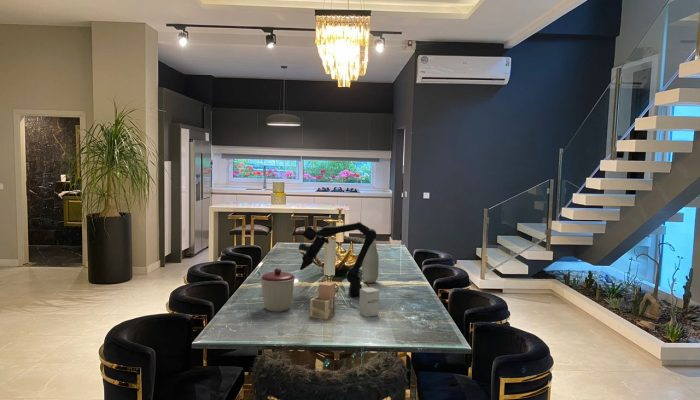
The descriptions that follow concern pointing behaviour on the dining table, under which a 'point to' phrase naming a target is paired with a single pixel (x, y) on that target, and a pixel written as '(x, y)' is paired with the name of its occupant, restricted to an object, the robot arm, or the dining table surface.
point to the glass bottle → (370, 264)
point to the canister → (277, 290)
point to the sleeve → (321, 308)
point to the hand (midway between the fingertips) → (301, 268)
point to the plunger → (327, 291)
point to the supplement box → (369, 302)
